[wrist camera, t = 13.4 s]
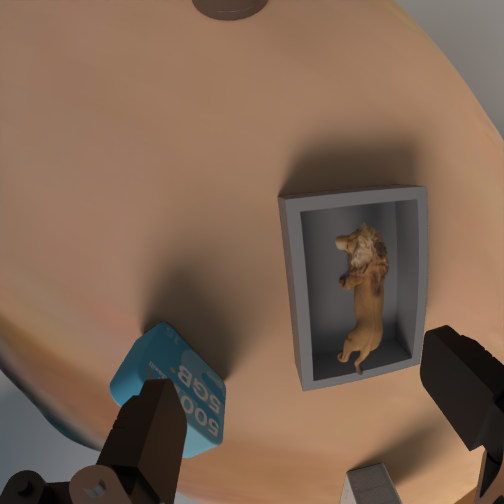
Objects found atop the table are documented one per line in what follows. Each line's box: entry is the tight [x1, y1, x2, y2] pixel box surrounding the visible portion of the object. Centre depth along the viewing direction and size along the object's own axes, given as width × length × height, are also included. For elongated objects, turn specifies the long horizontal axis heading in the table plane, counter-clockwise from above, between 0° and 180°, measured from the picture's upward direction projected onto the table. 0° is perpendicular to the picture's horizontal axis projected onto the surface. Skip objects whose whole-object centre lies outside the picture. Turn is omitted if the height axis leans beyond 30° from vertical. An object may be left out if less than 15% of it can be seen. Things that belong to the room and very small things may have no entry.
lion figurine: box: [335, 223, 389, 375], centre depth 29 cm, size 15×5×9 cm, turn 5°
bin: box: [278, 184, 428, 391], centre depth 32 cm, size 20×14×6 cm
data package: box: [109, 322, 226, 458], centre depth 31 cm, size 12×4×12 cm, turn 37°
